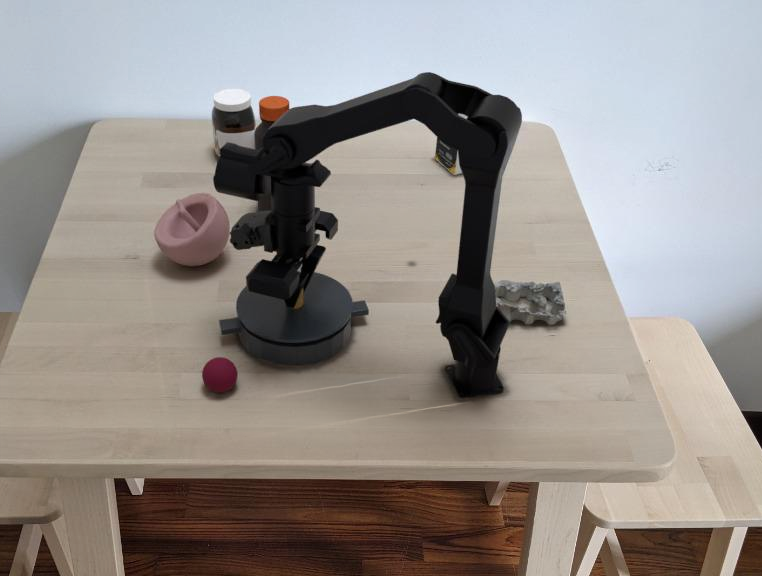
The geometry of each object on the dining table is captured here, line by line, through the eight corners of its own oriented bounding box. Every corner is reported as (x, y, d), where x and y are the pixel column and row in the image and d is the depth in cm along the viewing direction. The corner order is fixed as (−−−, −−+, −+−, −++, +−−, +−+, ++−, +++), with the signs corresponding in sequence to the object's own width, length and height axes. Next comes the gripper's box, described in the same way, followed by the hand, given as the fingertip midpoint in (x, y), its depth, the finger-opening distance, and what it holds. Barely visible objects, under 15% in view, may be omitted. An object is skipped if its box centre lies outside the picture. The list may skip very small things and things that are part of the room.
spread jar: (210, 145, 178) (205, 88, 170) (266, 137, 180) (264, 80, 172) (224, 174, 169) (220, 115, 161) (283, 165, 172) (281, 107, 164)
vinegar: (302, 216, 158) (301, 107, 145) (265, 223, 156) (261, 114, 143) (288, 197, 163) (286, 90, 150) (252, 204, 161) (247, 96, 148)
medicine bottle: (434, 159, 173) (440, 99, 165) (465, 151, 176) (473, 92, 168) (453, 176, 169) (461, 115, 161) (486, 168, 171) (495, 107, 163)
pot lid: (366, 337, 127) (367, 304, 123) (247, 354, 124) (245, 321, 120) (336, 269, 139) (337, 238, 135) (228, 283, 136) (225, 252, 133)
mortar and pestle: (150, 247, 151) (142, 186, 143) (219, 233, 154) (215, 173, 147) (168, 287, 143) (160, 224, 135) (241, 271, 146) (237, 209, 138)
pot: (381, 356, 130) (382, 335, 128) (230, 378, 127) (228, 357, 124) (352, 290, 142) (353, 269, 139) (213, 308, 139) (211, 287, 136)
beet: (246, 386, 123) (225, 365, 120) (218, 405, 124) (196, 385, 121) (241, 364, 126) (220, 344, 123) (214, 383, 127) (193, 363, 125)
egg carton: (490, 326, 135) (494, 304, 133) (488, 296, 141) (491, 274, 138) (563, 330, 134) (568, 308, 132) (558, 300, 140) (563, 278, 137)
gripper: (266, 162, 129) (270, 255, 139) (206, 229, 116) (215, 325, 126) (340, 177, 126) (338, 271, 136) (286, 247, 113) (288, 344, 123)
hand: (294, 301), depth 131 cm, fingers closed on pot lid, 3 cm apart
